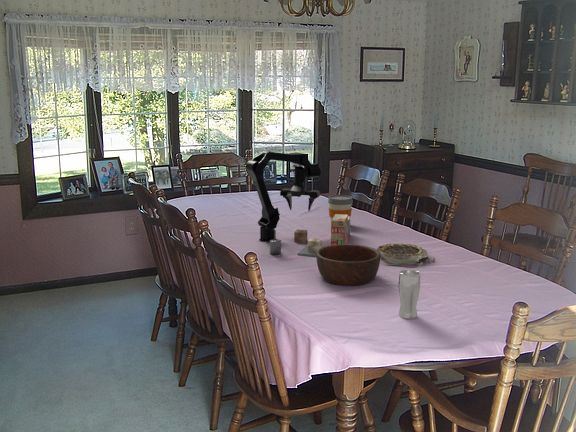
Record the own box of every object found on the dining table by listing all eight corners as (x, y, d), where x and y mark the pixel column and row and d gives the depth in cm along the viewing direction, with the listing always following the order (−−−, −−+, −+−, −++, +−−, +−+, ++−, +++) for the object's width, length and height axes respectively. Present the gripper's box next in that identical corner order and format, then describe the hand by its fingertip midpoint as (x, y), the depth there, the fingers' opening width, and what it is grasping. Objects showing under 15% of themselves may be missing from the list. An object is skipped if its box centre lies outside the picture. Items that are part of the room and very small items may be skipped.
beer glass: (402, 310, 212) (404, 267, 208) (421, 314, 208) (424, 271, 205) (393, 316, 206) (395, 273, 203) (413, 321, 202) (415, 277, 199)
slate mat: (297, 255, 274) (298, 253, 274) (305, 247, 285) (305, 246, 285) (324, 257, 270) (324, 255, 270) (331, 249, 282) (331, 248, 281)
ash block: (307, 251, 276) (307, 240, 275) (310, 248, 281) (310, 237, 279) (318, 252, 274) (318, 241, 273) (321, 249, 279) (321, 238, 278)
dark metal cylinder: (268, 254, 274) (268, 241, 273) (272, 251, 279) (271, 238, 277) (279, 255, 273) (279, 242, 271) (282, 252, 277) (282, 239, 276)
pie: (362, 264, 263) (362, 252, 262) (377, 247, 288) (377, 237, 287) (429, 271, 253) (430, 259, 252) (438, 254, 278) (439, 243, 277)
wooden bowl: (363, 293, 228) (363, 266, 226) (303, 281, 241) (304, 255, 238) (390, 274, 249) (391, 249, 246) (334, 264, 261) (334, 240, 259)
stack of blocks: (337, 234, 309) (338, 209, 306) (350, 234, 308) (350, 210, 305) (330, 245, 289) (331, 219, 286) (344, 246, 287) (344, 220, 285)
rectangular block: (294, 242, 294) (294, 232, 293) (297, 239, 299) (297, 229, 298) (304, 243, 293) (304, 232, 292) (307, 240, 297) (307, 230, 296)
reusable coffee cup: (346, 221, 333) (346, 194, 329) (355, 227, 321) (356, 198, 318) (324, 223, 329) (324, 195, 325) (333, 229, 317) (333, 200, 314)
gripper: (276, 180, 297) (276, 212, 300) (314, 182, 291) (314, 215, 295) (283, 176, 307) (283, 207, 311) (320, 178, 302) (320, 210, 305)
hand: (299, 210), depth 305 cm, fingers open, 9 cm apart
